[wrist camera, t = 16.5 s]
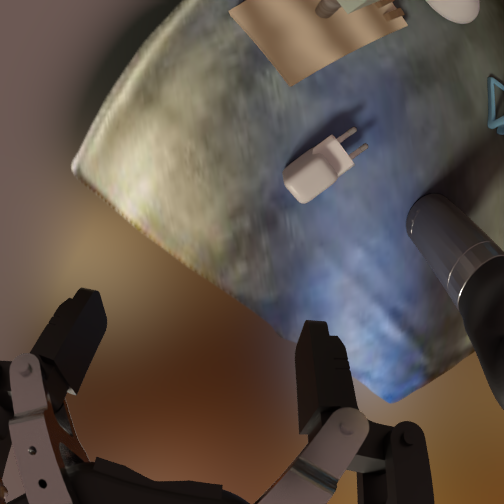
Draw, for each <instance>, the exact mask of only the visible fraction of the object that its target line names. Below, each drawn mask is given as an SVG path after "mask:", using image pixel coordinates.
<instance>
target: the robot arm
mask: <svg viewBox="0 0 504 504" xmlns="http://www.w3.org/2000/svg"><path fill="white" fill-rule="evenodd" d="M406 229H407V233H408V236H409V237H410V239H411V240H412V241H413V243H414V244H415V245H416V247H417V248H418V250H419V251H420V253H421V254H422V255H423V257H424V258H425V260H426V261H427V263H428V264H429V265H430V267H431V268H432V270H433V271H434V273H435V274H436V276H437V277H438V279H439V280H440V282H441V283H442V285H443V286H444V288H445V289H446V291H447V293H448V294H449V296H450V297H451V299H452V300H453V302H454V304H455V305H456V307H457V309H458V310H459V312H460V314H461V315H462V317H463V320H464V326H465V330H466V332H467V334H468V336H469V339H470V341H471V343H472V345H473V347H474V349H475V351H476V353H477V356H478V358H479V361H480V364H481V366H482V369H483V371H484V374H485V376H486V379H487V381H488V384H489V386H490V388H491V390H492V392H493V394H494V396H495V398H496V400H497V401H498V403H499V405H500V406H501V407H502V409H503V410H504V252H503V251H502V250H501V248H500V247H499V246H498V245H497V244H496V243H495V242H494V241H493V240H492V239H491V238H490V237H489V236H488V235H487V234H486V233H485V232H484V231H483V230H482V229H480V228H479V227H478V226H477V225H476V224H475V223H474V222H473V221H472V220H471V219H470V218H469V217H468V216H467V215H466V214H464V213H463V212H462V211H461V210H460V209H459V208H458V207H457V206H456V205H454V204H453V203H452V202H451V201H450V200H449V199H447V198H446V197H445V196H443V195H441V194H434V193H433V194H428V195H426V196H424V197H422V198H421V199H419V200H418V201H417V202H416V203H415V204H414V205H413V207H412V208H411V210H410V212H409V214H408V217H407V221H406ZM106 328H107V317H106V313H105V310H104V307H103V303H102V300H101V296H100V293H99V292H98V291H96V290H91V289H85V288H80V289H79V290H78V291H77V293H76V294H75V296H74V297H73V299H71V298H68V299H67V300H66V301H65V302H63V303H62V304H61V305H60V306H59V307H58V309H57V310H56V312H55V313H54V317H52V318H51V320H50V321H49V324H47V326H46V327H45V329H44V330H43V332H42V334H41V335H40V337H39V339H38V340H37V342H36V344H35V345H34V347H33V349H32V350H31V352H30V353H24V354H21V355H19V356H17V357H16V358H15V359H14V360H13V361H0V504H250V503H248V502H247V501H246V500H244V499H242V498H241V497H239V496H237V495H235V494H233V493H231V492H229V491H226V490H223V489H222V485H218V484H210V483H202V482H195V481H164V482H163V481H160V482H159V481H153V480H151V479H149V478H147V477H145V476H143V475H141V474H139V473H137V472H135V471H133V470H131V469H130V468H128V467H126V466H124V465H120V464H117V463H114V462H111V461H108V460H104V459H102V458H99V457H96V460H95V462H90V461H89V458H88V456H87V454H86V452H85V450H84V449H83V447H82V446H81V444H80V442H79V440H78V438H77V435H76V432H75V429H74V426H73V423H72V419H71V416H70V413H69V409H68V406H67V402H66V399H65V396H66V394H67V392H69V393H71V394H74V395H77V393H78V391H79V388H80V386H81V384H82V381H83V379H84V377H85V374H86V372H87V370H88V368H89V365H90V363H91V361H92V359H93V357H94V355H95V352H96V350H97V348H98V346H99V344H100V342H101V340H102V338H103V335H104V334H105V331H106ZM295 369H296V384H297V402H298V421H299V434H308V444H307V445H306V447H305V448H304V449H303V450H302V452H301V453H300V454H299V455H298V456H297V457H296V459H295V460H294V461H293V462H292V463H291V465H290V466H289V467H288V468H287V469H286V470H285V471H284V473H283V474H282V475H281V476H280V477H279V478H278V479H277V480H276V481H275V483H273V484H272V485H271V487H270V488H269V489H268V490H267V491H266V492H265V493H264V494H263V495H262V496H261V497H260V498H259V499H258V500H257V501H256V502H255V503H254V504H327V502H328V501H329V499H330V498H331V497H332V496H333V494H334V492H335V491H336V488H337V482H338V480H339V479H340V478H341V476H342V475H343V473H344V472H345V470H351V471H356V472H357V490H358V491H357V493H358V504H434V494H433V485H432V478H431V471H430V465H429V458H428V452H427V446H426V441H425V436H424V433H423V431H422V429H421V428H420V427H419V426H418V425H417V424H415V423H413V422H409V421H404V422H401V423H399V424H397V425H396V426H395V427H392V426H387V425H382V424H378V423H374V422H372V421H370V420H368V419H367V418H366V417H365V415H364V414H363V413H362V412H360V411H359V409H358V406H357V402H356V397H355V391H354V386H353V381H352V376H351V371H350V366H349V362H348V357H347V352H346V348H345V346H344V344H343V343H342V341H341V340H340V339H339V337H338V336H329V331H328V326H327V323H326V322H325V321H312V320H306V321H305V323H304V326H303V329H302V332H301V334H300V337H299V340H298V343H297V346H296V351H295ZM11 445H13V450H14V454H15V458H16V462H17V466H18V470H19V474H20V477H21V480H22V484H23V487H24V490H25V494H23V495H21V496H19V497H17V498H16V499H14V500H12V501H10V502H8V503H6V502H5V497H7V496H8V490H7V488H6V487H5V486H4V483H3V481H2V477H3V473H4V469H5V465H6V461H7V458H8V454H9V451H10V448H11Z"/></svg>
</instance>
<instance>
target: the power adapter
mask: <svg viewBox="0 0 504 504" xmlns="http://www.w3.org/2000/svg"><path fill="white" fill-rule="evenodd" d="M356 131H357V129H356V127H352V128H350V129H349V130H348V131H347V132H345V133H344V134H343V135H341V136H340V137H338V138H337V139H336V138H335V137H334V136H333V135H330V136H329V137H327V138H326V139H325V140H323V141H322V142H321V143H319V144H318V145H317V146H315V147H313V148H311V149H309V150H308V151H306V152H305V153H304V154H302V155H301V156H300V157H298V158H297V159H296V160H295V161H293V162H292V163H291V164H290V165H288V166H287V167H286V168H285V169H284V170H283V172H282V174H283V180H284V184H285V186H286V187H287V189H288V190H289V191H290V192H291V193H292V195H293V196H294V197H295V198H296V199H297V200H298V201H299V202H300V203H303V204H304V203H307V202H309V201H310V200H312V199H313V198H314V197H316V196H317V195H319V194H320V193H321V192H323V191H324V190H325V189H327V188H328V187H329V186H331V185H332V184H333V183H334V182H335V181H336V180H337V178H338V177H339V176H341V175H342V174H343V173H345V172H346V171H347V170H349V169H350V168H351V167H353V166H354V165H355V164H354V163H353V161H352V159H354V158H355V157H356V156H357V155H359V154H360V153H361V152H363V151H365V150H366V149H367V148H368V144H366V143H364V144H363V145H362V146H360V147H359V148H358V149H357V150H355V151H354V152H353V153H351V154H349V155H348V154H347V153H346V151H345V150H344V149H343V147H342V146H341V145H340V143H341V142H343V141H344V140H345V139H346V138H348V137H349V136H351V135H352V134H354V133H355V132H356Z"/></svg>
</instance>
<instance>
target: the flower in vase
mask: <svg viewBox="0 0 504 504" xmlns="http://www.w3.org/2000/svg"><path fill="white" fill-rule="evenodd" d="M425 1H426V2H427V3H428V4H429V5H430V6H431V7H432V8H433V9H434V10H435V11H436V12H437V13H439V14H440V15H441V16H443V17H444V18H446V19H448V20H450V21H452V22H455V23H459V24H466V23H470V22H471V21H473V20H474V19H475V18H476V16H477V15H478V13H479V7H480V5H479V0H425Z"/></svg>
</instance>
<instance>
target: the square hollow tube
mask: <svg viewBox="0 0 504 504" xmlns="http://www.w3.org/2000/svg"><path fill="white" fill-rule="evenodd" d="M337 1H338V2H339V4H340V5H341V6H342V7H343V9H344V10H345V11H346V13H347V14H349V13H352V12H354V11H356V10H358V9H361V8H363V7H365V6H368V5H370V4H373V3H375V2H378V1H380V0H337Z"/></svg>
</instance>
